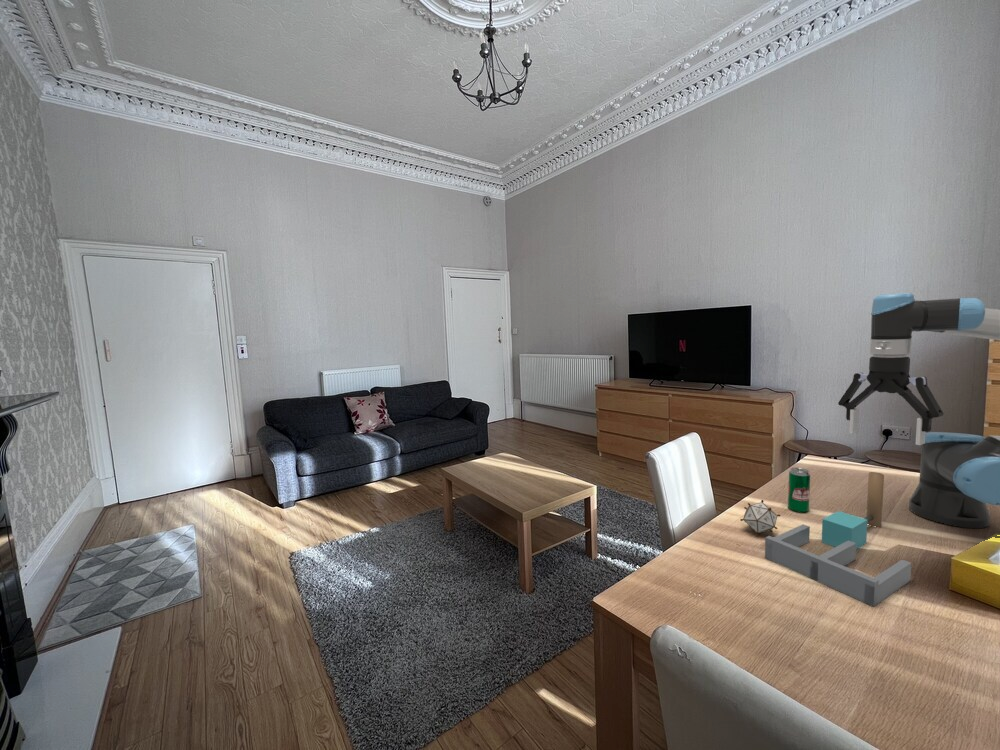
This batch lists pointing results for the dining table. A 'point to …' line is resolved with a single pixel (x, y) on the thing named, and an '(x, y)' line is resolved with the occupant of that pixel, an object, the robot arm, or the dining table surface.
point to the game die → (760, 517)
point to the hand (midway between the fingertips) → (885, 438)
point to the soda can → (799, 489)
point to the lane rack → (835, 567)
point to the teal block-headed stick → (852, 527)
